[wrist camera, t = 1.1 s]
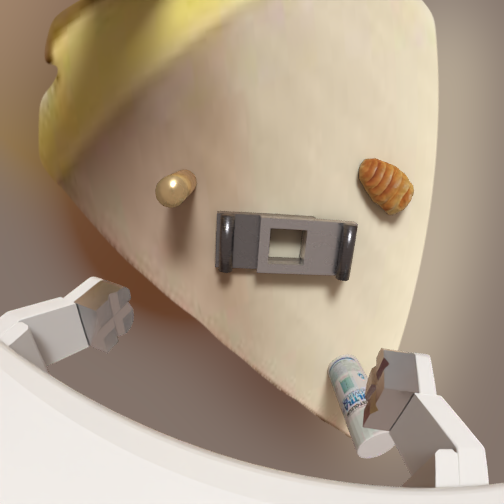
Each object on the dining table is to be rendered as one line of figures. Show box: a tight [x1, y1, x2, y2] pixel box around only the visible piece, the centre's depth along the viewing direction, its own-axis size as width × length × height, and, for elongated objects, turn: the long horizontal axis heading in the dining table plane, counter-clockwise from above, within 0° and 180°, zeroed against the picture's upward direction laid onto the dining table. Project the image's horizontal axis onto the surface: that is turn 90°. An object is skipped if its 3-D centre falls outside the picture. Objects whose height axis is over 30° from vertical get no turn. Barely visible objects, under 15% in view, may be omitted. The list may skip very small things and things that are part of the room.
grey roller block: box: [215, 211, 358, 281], centre depth 46 cm, size 20×8×5 cm, turn 86°
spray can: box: [328, 355, 395, 458], centre depth 47 cm, size 6×6×20 cm
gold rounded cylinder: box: [155, 170, 197, 208], centre depth 40 cm, size 4×4×10 cm
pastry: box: [359, 158, 414, 215], centre depth 44 cm, size 9×7×4 cm
